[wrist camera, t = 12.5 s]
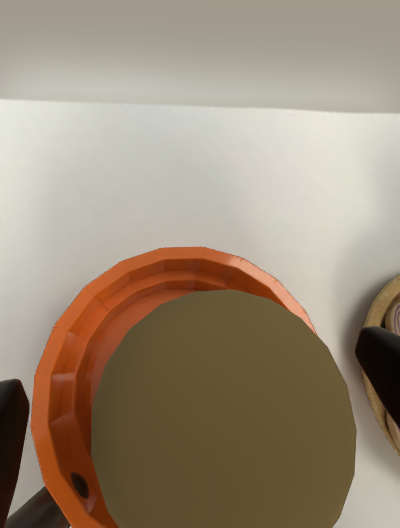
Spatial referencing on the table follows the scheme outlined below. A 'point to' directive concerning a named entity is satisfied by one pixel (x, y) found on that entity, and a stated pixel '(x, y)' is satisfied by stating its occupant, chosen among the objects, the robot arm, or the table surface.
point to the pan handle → (45, 508)
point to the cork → (223, 419)
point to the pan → (102, 347)
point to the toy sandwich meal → (395, 320)
